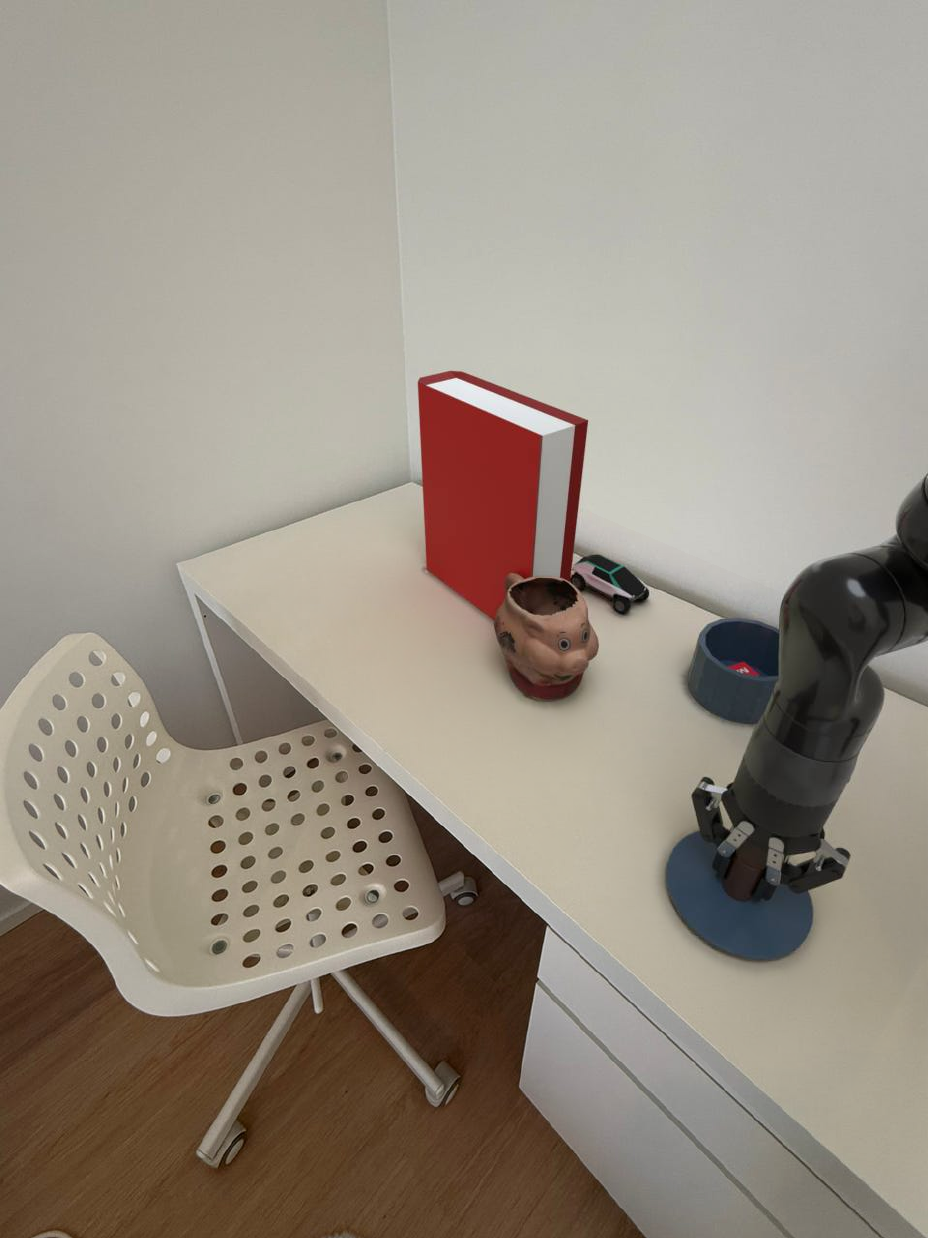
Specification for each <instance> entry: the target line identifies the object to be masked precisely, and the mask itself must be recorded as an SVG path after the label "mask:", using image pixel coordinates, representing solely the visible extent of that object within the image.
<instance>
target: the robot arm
mask: <svg viewBox="0 0 928 1238" xmlns="http://www.w3.org/2000/svg"><path fill="white" fill-rule="evenodd" d="M894 524H895V532H896V533H895V534H893V535H892V536H891V537H890V538H888V539H886V540H885V541H884V542H881V543H879V544H878V545H873V546H871V547H867V548H862V549H859V550H853V551H850V552H847V553H842V554H838V555H834V556H829V557H826V558H822V559H820V560H817V561H814V562H812V563H810V564H809V565H807V566H806V567H805V568H803V569H802V570H801V571H800V572H799V573H798V574H797V575H795V578H794V579H793V580H792V582H791V583H790V584H789V586H788V587H787V589H786V591H785V592H784V595H783V597H782V599H781V602H780V608H779V615H778V629H779V652H778V662H779V676H778V678H777V680H776V683H775V685H774V688H773V690H772V693H771V695H770V698H769V701H768V703H767V706H766V708H765V711H764V713H763V715H762V716H761V718H760V719H759V721H758V723H757V724H755V726H754V728H753V730H752V733H751V736H750V737H749V740H748V743H747V746H746V748H745V751H744V754H743V755H742V759H741V760H740V761H741V762H740V764H739V766H738V769H737V772H736V774H735V777H734V779H733V781H732V782H730V783H728V784H727V785H726V787H724V786H718V785H715V782H714V780H713V779H712V778H710V777H709V776H703V777H702V778H701V779H700V781H699V783H698V784H697V785H696V787H695V789H694V790H693V792H692V793H691V794H690V795H691V800H692V805H693V809H694V813H695V817H696V821H697V826H698V829H699V830H698V831H700V834H701V837H702V839H703V840H705V841H706V842H709V843H712V842H713V843H714V844H715V845H716V846H717V849H718V851H717V853H716V856H715V858H714V861H713V863H712V868H713V869H714V870H716V871H717V873H716V877H718V878H719V879H721V880H723V878H724V876H725V874H726V872H727V869H728V867H729V865H730V862H731V860H732V858H733V855H734V852H735V850H736V849H738V848H739V847H740V846H741V844H742V843H743V842H744V841H747V842H749V843H752V844H754V845H757V846H758V847H760V848H761V849H762V850H764V851H765V852H767V853H768V856H767V863H766V866H767V870H766V872H765V873H764V875H763V877H762V879H761V881H760V883H759V885H758V887H757V889H756V891H755V893H754V895H753V897H752V898H753V899H754V900H756V901H758V902H760V900H761V898H762V899H764V900H766V901H768V900H770V899H771V897H772V895H773V893H774V892H775V890H776V888H777V886H778V885H779V884H785V885H788V888H789V889H790V890H791V891H792V892H794V893H797V894H800V893H803V892H806V891H811V890H813V889H817V888H820V887H822V886H825V885H827V884H830V883H834V882H836V881H838V880H841V879H843V877H844V874H845V872H846V871H847V868H848V865H849V862H850V860H851V856H852V855H851V853H850V852H849V850H847V849H846V848H843V847H833V845H831V844H830V842H828V841H826V840H825V838H826V831H825V829H824V826H825V825H826V823H827V821H828V819H829V817H830V816H831V814H832V812H833V810H834V808H835V806H836V805H837V803H838V800H839V799H840V797H841V795H842V794H843V791H845V788H846V786H847V785H848V784H849V782H850V781H851V777H852V775H853V773H854V770H855V769H856V766H857V762H858V758H859V755H860V754H861V753H860V752H861V750H862V749H863V747H864V745H865V744H866V741H867V740H868V738H869V736H870V734H871V732H872V730H873V728H874V726H875V725H876V723H877V721H878V719H879V716H880V714H881V713H882V709H883V707H884V704H885V697H886V692H885V686H884V683H883V681H882V679H881V677H880V675H879V674H878V673H877V672H876V671H875V669H874V668H872V667H871V666H870V665H869V664H871V662H872V661H873V660H874V659H875V658H878V657H880V656H883V655H886V654H890V653H894V652H898V651H899V650H903V649H907V648H911V647H914V646H917V645H920V644H924V643H926V642H927V641H928V473H926V474H925V475H924V476H923V477H922V478H921V479H920V480H919V481H918V482H917V483H916V484H915V485H914V486H913V487H912V488H911V490H910V491H909V492H908V493H907V494H906V496H905V497H904V498H903V500H902V501H901V503H900V505H899V506H898V509H897V512H896V515H895V523H894ZM721 803H722V805H723V808H724V810H725V812H726V814H727V817H728V819H729V820H730V823H731V827H730V828H727V827H725V826H724V820H723V816H722V815H723V814H722V811H721V806H720V804H721ZM727 829H729V830H727ZM814 852H815V854H814V857H812V858H808V859H807V860H804V861H802V862H799V863H798V864H796V865H795V864H792V863H791V864H792V865H791V864H789V862H790V858H791V856H796V855H801V854H802V855H803V854H806V853H814Z"/></svg>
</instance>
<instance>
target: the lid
mask: <svg viewBox="0 0 928 1238" xmlns="http://www.w3.org/2000/svg"><path fill="white" fill-rule="evenodd" d="M726 829H727V830H729V829H730V828H726ZM717 851H718V849H717V846H716V845H715V844H714V843H713V842H712V843H709V842H706V841H705V840H703V839H702V837H701V834H700V830H697V831H694V832H692V833H690V834H688V835H686V836H684V837H683V838H682V839H680V840H679V841H678V842H677V843H676V845H675V846H674V847H673V848H672V850H671V853H670V854H669V858H668V860H667V863H666V870H665V883H666V888H667V891H668V895H669V898H670V900H671V902H672V905H673V907H674V908H675V910H676V912H677V913H678V915H679V916H680V918H681V920H683V922H684V923H685V924H686V925H687V926H688V928H689V929H690V930H691V931H692V932H694V933H695V935H697V936H698V937H699V938H700V939H702V940H703V941H704V942H706V943H707V944H708V945H710V946H711V947H714V948H715V949H717V950H718V951H720V952H723V953H725V954H727V955H730V956H733V957H735V958H737V959H743V960H747V961H755V962H765V961H766V962H767V961H775V960H779V959H782V958H784V957H788V956H789V955H791V954H793V953H794V952H796V951H797V950H798V949H799V948H800V947H801V946H802V945H803V944H804V943H805V941H806V939H807V938H808V936H809V934H810V932H811V929H812V926H813V921H814V906H813V901H812V897H811V894H810V892H809V891H810V890H808V891H806V892H803V893H800V894H797V893H794V892H792V891H791V890H790V889H789V888H788V885H785V884H779V885H778V886H777V888H776V890H775V892H774V893H773V895H772V897H771V899H770V900H768V901H766V900H764V899H762V898H761V900H760V902H758V901H756V900H754V899H753V898H752V897H753V895H754V893H755V891H756V889H757V887H758V885H759V883H760V881H761V879H762V877H763V875H764V873H765V872H766V870H767V866H766V863H767V856H768V853H767V852H765V851H764V850H762V849H761V848H760V847H758V846H757V845H754V844H752V843H749V842H747V841H744V842H743V843H742V844H741V846H740V847H739V848H738V849H736V850H735V852H734V855H733V858H732V860H731V862H730V865H729V867H728V869H727V872H726V874H725V876H724V878H723V880H721V879H719V878H718V877H716V873H717V871H716V870H714V869H713V868H712V863H713V861H714V858H715V856H716V853H717ZM789 864H791V865H793V864H792V863H791V862H790V861H789Z"/></svg>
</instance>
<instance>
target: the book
mask: <svg viewBox="0 0 928 1238" xmlns="http://www.w3.org/2000/svg"><path fill="white" fill-rule="evenodd" d="M417 397H418V417H419V418H418V419H419V420H418V421H419V437H420V439H419V440H420V458H421V460H420V461H421V462H420V463H421V478H422V479H421V480H422V502H423V504H422V505H423V521H424V541H425V542H424V544H425V560H426V561H425V563H426V570H427V571H428V572H429V573H430V574H432V575H433V576H434V577H436V578H437V579H439V580H440V581H441V582H443V584H445V585H446V586H448V587H450V588H451V589H452V590H453V591H454V592H456V593H457V594H458V595H460V596H461V597H462V598H464V599H465V600H466V601H468V602H469V603H471V605H473V606H474V607H476V608H477V609H479V611H481V612H482V613H484V614H485V615H486V616H488V617H489V618H490V619H491V620H493V621H494V619H495V615H496V612H497V610H498V608H499V607H500V606H501V604H502V603H503V602H504V600H505V583H504V581H505V580H506V578H507V576H508V575H509V574H510V573H515V574H518V575H520V576H522V577H523V578H524V579H526V578H529V577H534V576H555V577H560V578H563V579H565V580H567V581H569V582H570V579H571V576H572V567H573V560H574V552H575V551H574V550H575V542H576V533H577V523H578V516H579V507H580V498H581V497H580V496H581V490H582V480H583V470H584V463H585V462H584V461H585V454H586V445H587V435H588V426H589V419H586V418H584V417H582V416H579V415H576V414H573V413H571V412H568V411H565V410H563V409H561V408H558V407H555V406H554V405H550V404H547V403H545V402H542V401H539V400H537V399H535V398H532V397H530V396H526V395H524V394H522V393H519V392H516V391H513V390H511V389H509V388H506V387H503V386H500V385H498V384H496V383H493V382H491V381H488V380H485V379H483V378H480V377H478V376H475V375H473V374H470V373H467V372H465V371H461V370H448V371H443V372H439V373H435V374H430V375H426V376H421V377H419V378H418V380H417ZM570 583H571V582H570Z"/></svg>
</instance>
